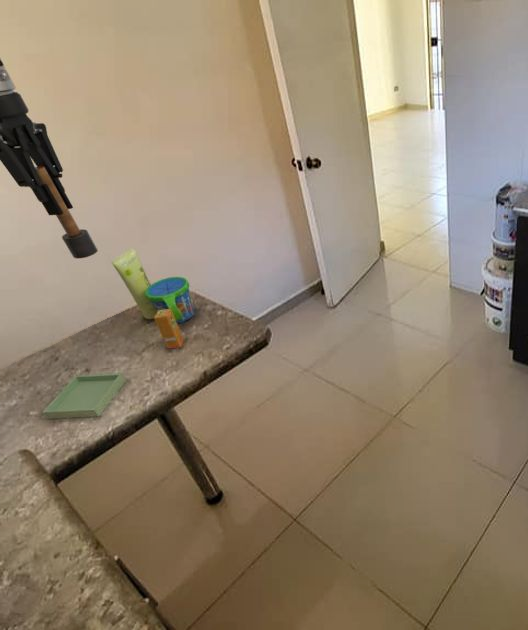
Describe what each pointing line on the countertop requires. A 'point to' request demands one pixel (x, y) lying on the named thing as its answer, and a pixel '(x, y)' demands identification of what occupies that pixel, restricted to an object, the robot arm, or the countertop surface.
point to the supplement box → (169, 328)
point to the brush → (69, 223)
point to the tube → (135, 281)
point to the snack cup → (172, 297)
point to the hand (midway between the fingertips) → (61, 211)
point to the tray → (85, 396)
